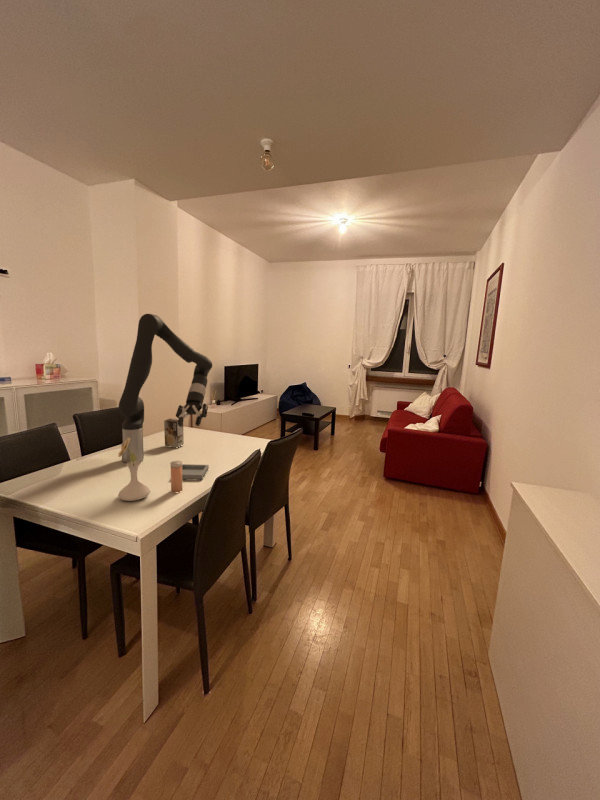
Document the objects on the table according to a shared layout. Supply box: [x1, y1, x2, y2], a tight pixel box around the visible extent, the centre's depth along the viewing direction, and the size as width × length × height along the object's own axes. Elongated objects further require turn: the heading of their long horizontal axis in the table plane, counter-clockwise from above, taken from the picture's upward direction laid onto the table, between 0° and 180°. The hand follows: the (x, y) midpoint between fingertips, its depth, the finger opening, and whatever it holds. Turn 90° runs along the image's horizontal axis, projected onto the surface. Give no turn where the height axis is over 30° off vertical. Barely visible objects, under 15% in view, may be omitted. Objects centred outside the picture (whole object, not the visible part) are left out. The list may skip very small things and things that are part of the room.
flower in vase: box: [117, 437, 151, 502], centre depth 126 cm, size 13×11×25 cm
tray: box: [182, 463, 210, 481], centre depth 154 cm, size 13×13×2 cm
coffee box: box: [163, 418, 184, 447], centre depth 194 cm, size 9×6×16 cm
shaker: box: [169, 460, 183, 493], centre depth 135 cm, size 5×5×12 cm
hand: (188, 425), depth 147 cm, fingers open, 8 cm apart
